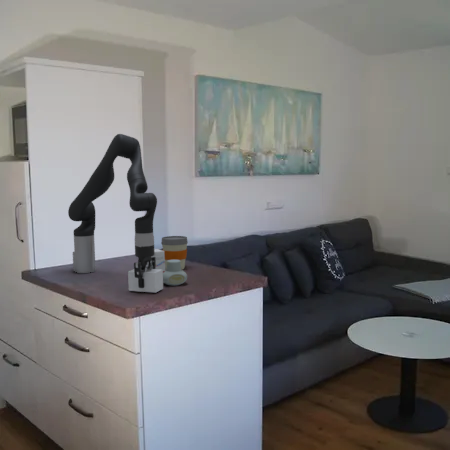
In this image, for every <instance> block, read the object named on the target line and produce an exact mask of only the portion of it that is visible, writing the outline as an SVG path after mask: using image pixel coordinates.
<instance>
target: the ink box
mask: <svg viewBox="0 0 450 450" xmlns="http://www.w3.org/2000/svg"><path fill="white" fill-rule="evenodd" d="M152 257H155V258H156V269H162V270H163V273H164V272H165V271H166V267H165V255H164V251H162V249H158V248H154V256H152Z"/></svg>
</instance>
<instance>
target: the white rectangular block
mask: <svg viewBox="0 0 450 450" xmlns="http://www.w3.org/2000/svg"><path fill="white" fill-rule="evenodd" d="M137 274H138V272H137ZM127 276H128V277H127V282H128V291H130V292H139V293H140V292H141V293H144V292H145V293H154V294H155V293H157V292H159V291H161V290H163V289H164V282H163V270H162V269H147V271H146V272H145V273H144V288H139V287H138V278H135V273H134V268H133V269H131V270H129V271H127Z"/></svg>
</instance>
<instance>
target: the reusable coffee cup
mask: <svg viewBox="0 0 450 450" xmlns="http://www.w3.org/2000/svg"><path fill="white" fill-rule="evenodd" d="M160 244H161V247H162V249H161V250H162V251H164V255H165V271H167V261H168V260H180V261H181V270H182V271H183V270H184V269H185V268H186V267H185V266H186V259H187V253H188V248H187V246H188V237H187V236H184V235H167V236H162V237H161V243H160Z"/></svg>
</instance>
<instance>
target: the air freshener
mask: <svg viewBox="0 0 450 450" xmlns="http://www.w3.org/2000/svg"><path fill="white" fill-rule="evenodd" d="M187 279H188V274H187V273H186V271H184V270H183V269H182V270H181V261H180V260H168V261H167V270H165V272H164V273H163V284H165V285H167V286H172V287H178V286H180V285H182V284H184V283H186V281H187Z"/></svg>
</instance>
